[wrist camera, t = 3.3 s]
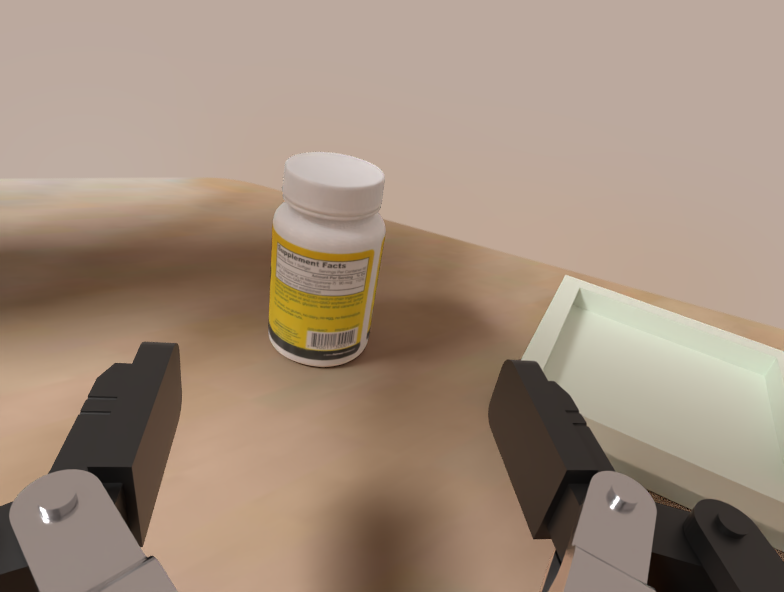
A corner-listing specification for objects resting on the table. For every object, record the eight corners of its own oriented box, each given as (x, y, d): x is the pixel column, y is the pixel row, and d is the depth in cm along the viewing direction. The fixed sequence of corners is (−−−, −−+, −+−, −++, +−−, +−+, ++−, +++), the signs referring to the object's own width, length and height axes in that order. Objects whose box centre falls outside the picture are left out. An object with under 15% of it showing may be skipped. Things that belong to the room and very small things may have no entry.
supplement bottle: (307, 299, 28) (321, 141, 24) (384, 334, 26) (415, 171, 22) (245, 341, 24) (249, 162, 20) (331, 385, 23) (356, 200, 18)
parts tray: (495, 419, 22) (508, 383, 21) (554, 303, 32) (565, 274, 31) (818, 568, 19) (852, 532, 17) (775, 385, 28) (796, 355, 27)
